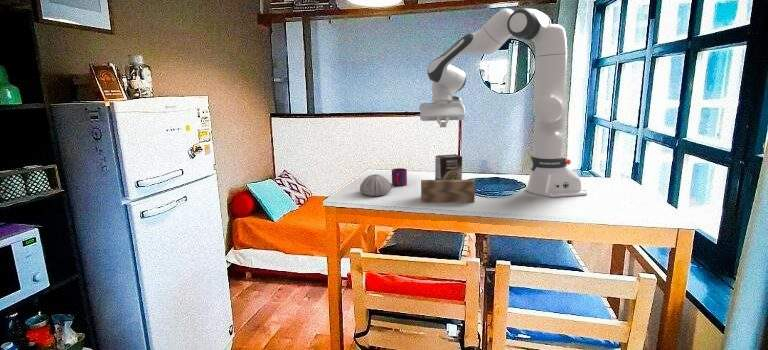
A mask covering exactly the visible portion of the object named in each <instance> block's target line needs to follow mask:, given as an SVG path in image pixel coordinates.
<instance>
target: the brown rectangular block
mask: <svg viewBox="0 0 768 350" xmlns="http://www.w3.org/2000/svg"><path fill="white" fill-rule="evenodd" d="M475 191H476V181H475V179H462V180H435V179H421V180H420V201H421V203H475V201H476V200H475V197H476V196H475V194H476V192H475Z"/></svg>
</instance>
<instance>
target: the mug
mask: <svg viewBox="0 0 768 350" xmlns="http://www.w3.org/2000/svg"><path fill="white" fill-rule="evenodd" d="M391 186H392V187H405V186H408V169H407V168H401V167H399V168H397V167H395V168H392V169H391Z"/></svg>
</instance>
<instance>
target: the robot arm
mask: <svg viewBox="0 0 768 350" xmlns="http://www.w3.org/2000/svg"><path fill="white" fill-rule="evenodd" d="M512 36H513V37H514V38H517V39H519V40H525V41H532V42H533V43H534V49H535V58H534V61H535V62H534V65H535V66H534V87H533V109H532V111H533V115H534V117H535V122H534V129H533V137H532V155H530V160H529V161H530V163H529V164H530V165H529V167H530V168H529V169H530V174H529V179H528V182H527V186H526V188H525V190H526V191H527V192H529V193H531V194H535V195H538V196H539V195H541V196H546V197H549V198H558V197H559V198H560V197H575V196H578V197H579V196H587V194H588V190H587V189H586V188H585V187H583V186H582V181H581V178H580V176H579V175H578V174H577V173H576V172H574V171H573V170H572V169H571V168H569V167H568V166H570V164H571V159H569V158H565V157H564V156H563V148H564V135H565V125H566V124H565V123H566V115H567V114H566V113H567V112H566V111H567V101H566V95H567V94H566V90H567V75H568V74H567V73H568V72H567V70H568V69H567V66H568V49H567V48H568V46H567V45H568V44H567V36H566V30H565V28H564V27H563V26H562V25H560V24H558V23H557V24H556V23H552V21H551V18H550V17H549V15H548V14H547V13H545V12H544V11H539V9H536V8H528V7H521V8H517V9H515V10H513V9H511V8H508V7H504V8H502V9H499V11H497V12H496V13H495V14H494V15H493V16H491V17H490V18H489V20H488V21H486V23H485V24H484V25H483V26H482V27H481V28H480V29H478V30H476V31H475V32H474V31H473V32H472V33H467V34H465V35H464V36H462V37H461V38H459V39H458V40H457V41H456V42H454V43H453V44H452V45H451V46H450V47H449V48H448V49H447V50H446V51H444V52H443V53H442V54H441V55H440V56H438V57H436V58H435V59H433V60H432V61H431V62H430V63H429V65H428V66H427V70H426V73H427V75H428V79H429V81H431V92H432V96H431V97H432V98H431V101H432V102H423V103H421V104H419V108H418V109H419V113H420V114H419V116H420V117H419V118H420V120H421V122H433V121H436V123H438V125H439V127H440V128H447V125H448V123H449V121H464V120H465V119H466V115H467V113H466V108H465V104H464V103H463V99H462V96H461V97H460V96H457V95H453V94H456V93H458V92H459V91H461V90H462V89H463V88H465V85H466V83H467V73H466V72H465V71H464V70H462V69H460V68H459V67H457V66H454V65H452V63H453V62H454V61H455V60H457V59H458V58H459V57H460V56H461V55H464V54H468V53H470V54H471V53H472V54H479V55H490V54H494V53H495V52H497V51H498V50H499V49H501V47H503V45H504V44H505V43H506V42H507V41H508V40H509V38H511V37H512ZM567 165H568V166H567Z"/></svg>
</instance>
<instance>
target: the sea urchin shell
mask: <svg viewBox="0 0 768 350" xmlns="http://www.w3.org/2000/svg"><path fill="white" fill-rule="evenodd" d="M391 190H392V183H391V182H390V180H389V179H388V178H386V177H385V176H383V175H381V174H375V173H374V174H370V175H368V176H366V178H364V179H363V180H362V182H361V183H360V185H359V191H360V194H362V195H365V196H370V197H380V196H384V195H387V194H389V193H390V192H391Z"/></svg>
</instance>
